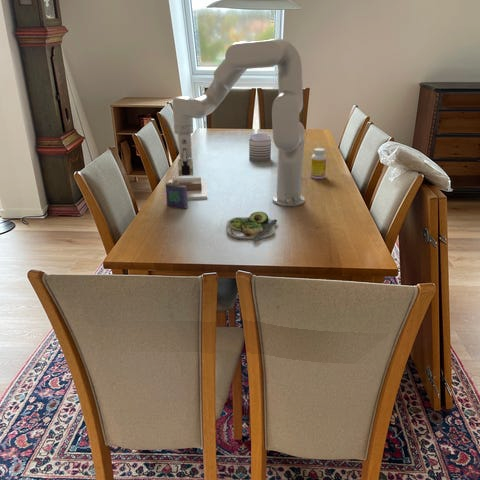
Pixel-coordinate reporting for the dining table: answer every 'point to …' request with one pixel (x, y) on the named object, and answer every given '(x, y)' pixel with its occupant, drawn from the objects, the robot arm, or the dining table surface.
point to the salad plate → (252, 226)
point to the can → (260, 148)
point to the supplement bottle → (318, 164)
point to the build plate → (197, 192)
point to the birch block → (181, 167)
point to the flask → (176, 195)
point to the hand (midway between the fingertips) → (186, 172)
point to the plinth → (190, 183)
